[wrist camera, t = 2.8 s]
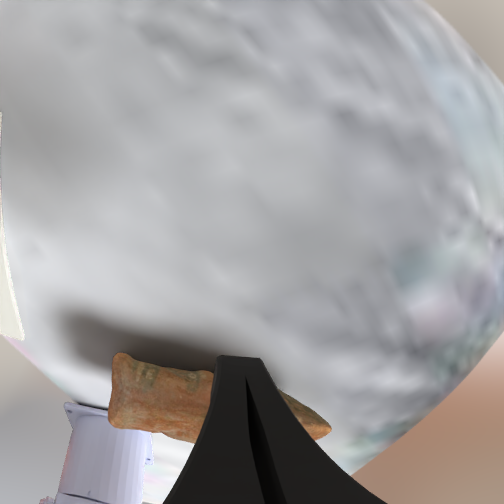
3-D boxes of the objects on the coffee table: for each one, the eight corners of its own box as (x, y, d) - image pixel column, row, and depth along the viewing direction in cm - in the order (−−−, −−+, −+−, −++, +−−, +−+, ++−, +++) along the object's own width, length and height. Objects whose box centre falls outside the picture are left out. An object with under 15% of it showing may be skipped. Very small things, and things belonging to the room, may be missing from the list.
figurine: (97, 360, 20) (271, 349, 28) (113, 468, 17) (288, 435, 24) (104, 339, 13) (337, 325, 21) (130, 501, 10) (359, 435, 18)
